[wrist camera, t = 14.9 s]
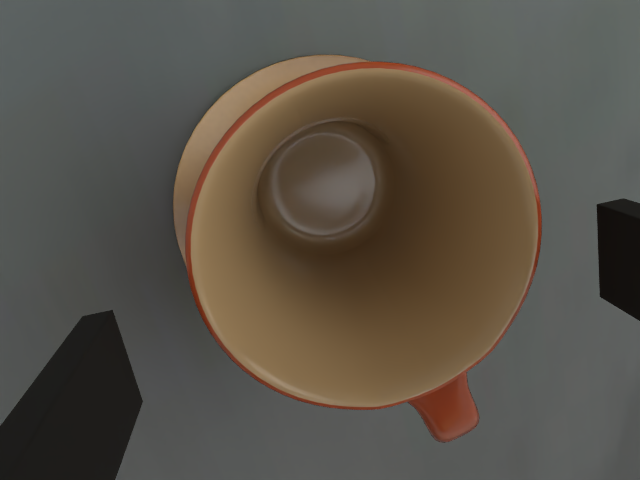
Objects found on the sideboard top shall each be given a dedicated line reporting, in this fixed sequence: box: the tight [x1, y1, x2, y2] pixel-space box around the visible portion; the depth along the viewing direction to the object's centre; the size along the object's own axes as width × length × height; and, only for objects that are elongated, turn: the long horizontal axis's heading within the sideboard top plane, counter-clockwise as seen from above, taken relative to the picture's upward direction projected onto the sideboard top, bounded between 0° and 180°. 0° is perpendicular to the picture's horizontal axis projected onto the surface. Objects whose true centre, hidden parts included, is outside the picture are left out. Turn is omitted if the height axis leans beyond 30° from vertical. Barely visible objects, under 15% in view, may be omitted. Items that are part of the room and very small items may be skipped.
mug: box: [185, 62, 542, 443], centre depth 18 cm, size 12×9×10 cm
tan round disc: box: [173, 55, 370, 264], centre depth 23 cm, size 13×13×1 cm
